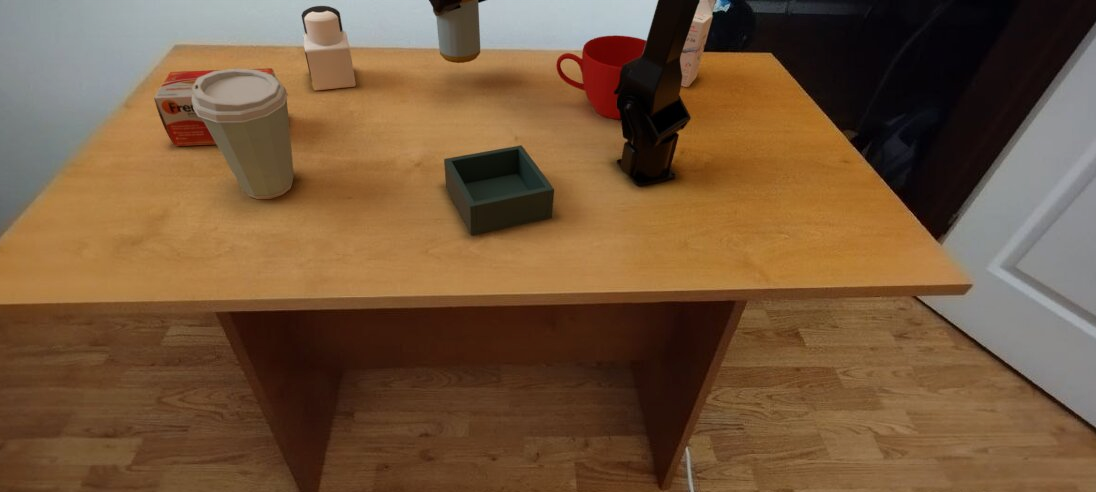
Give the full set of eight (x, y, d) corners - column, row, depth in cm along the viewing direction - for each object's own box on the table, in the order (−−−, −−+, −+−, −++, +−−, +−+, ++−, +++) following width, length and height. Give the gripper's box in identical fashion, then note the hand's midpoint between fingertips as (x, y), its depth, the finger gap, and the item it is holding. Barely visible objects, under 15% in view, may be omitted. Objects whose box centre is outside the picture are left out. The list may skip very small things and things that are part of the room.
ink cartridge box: (644, 76, 108) (660, -8, 98) (654, 67, 111) (671, -15, 101) (688, 88, 104) (709, 3, 94) (697, 78, 108) (718, -5, 98)
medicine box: (172, 147, 84) (150, 96, 78) (186, 120, 90) (166, 70, 84) (280, 142, 86) (266, 92, 81) (287, 116, 92) (275, 67, 86)
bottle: (474, 65, 97) (469, -32, 87) (434, 62, 98) (425, -35, 88) (484, 49, 102) (481, -45, 92) (447, 46, 103) (439, -47, 93)
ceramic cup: (555, 87, 103) (559, 30, 96) (650, 95, 102) (661, 38, 95) (551, 123, 93) (555, 63, 86) (656, 131, 92) (669, 71, 86)
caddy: (520, 172, 83) (521, 144, 80) (552, 217, 75) (554, 189, 72) (445, 186, 79) (443, 158, 76) (470, 235, 72) (470, 206, 69)
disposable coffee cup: (305, 160, 83) (279, 57, 73) (314, 202, 76) (287, 95, 65) (226, 172, 80) (187, 68, 70) (227, 218, 73) (184, 109, 62)
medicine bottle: (311, 73, 103) (296, 3, 95) (352, 69, 105) (340, 0, 97) (313, 91, 98) (297, 19, 90) (356, 87, 100) (344, 16, 92)
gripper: (516, -114, 86) (468, -47, 99) (419, -98, 76) (379, -26, 89) (552, -44, 88) (500, 12, 101) (462, -20, 78) (417, 39, 91)
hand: (451, 8), depth 95 cm, fingers closed on bottle, 7 cm apart
